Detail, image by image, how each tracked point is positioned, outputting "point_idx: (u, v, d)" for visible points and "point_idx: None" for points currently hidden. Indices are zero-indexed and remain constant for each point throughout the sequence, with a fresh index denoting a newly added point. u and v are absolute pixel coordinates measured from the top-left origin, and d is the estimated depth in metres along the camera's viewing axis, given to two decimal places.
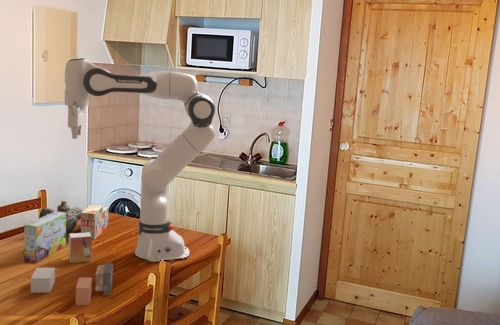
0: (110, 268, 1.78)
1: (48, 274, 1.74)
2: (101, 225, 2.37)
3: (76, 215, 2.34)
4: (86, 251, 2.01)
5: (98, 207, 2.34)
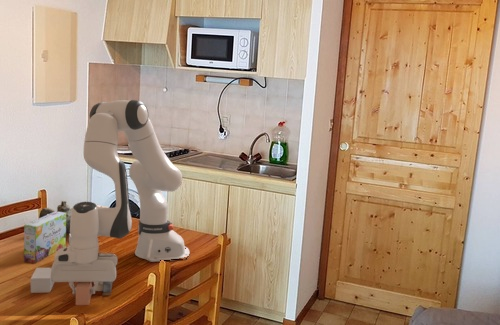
0: None
1: (48, 274, 1.74)
2: None
3: None
4: None
5: None
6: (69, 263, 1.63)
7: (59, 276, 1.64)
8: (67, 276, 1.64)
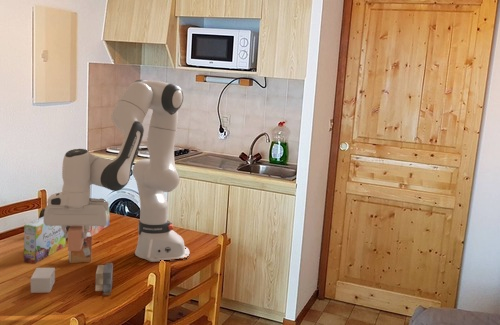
0: (110, 268, 1.78)
1: (48, 274, 1.74)
2: None
3: None
4: (86, 251, 2.01)
5: None
6: (61, 207, 1.69)
7: (52, 220, 1.70)
8: (59, 220, 1.70)
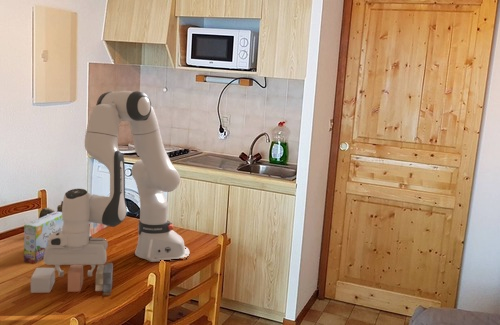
0: (110, 268, 1.78)
1: (48, 274, 1.74)
2: (98, 224, 2.37)
3: None
4: None
5: None
6: (61, 247, 1.71)
7: (52, 259, 1.73)
8: (59, 259, 1.73)
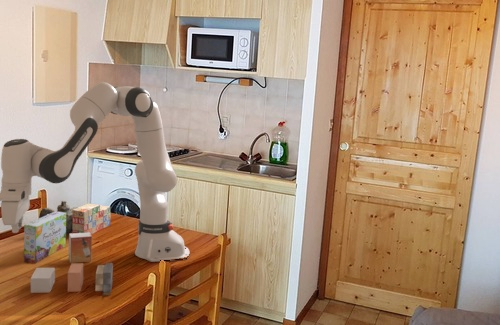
0: (110, 268, 1.78)
1: (48, 274, 1.74)
2: (97, 224, 2.38)
3: None
4: (86, 251, 2.01)
5: (94, 206, 2.36)
6: (22, 199, 1.65)
7: (17, 217, 1.62)
8: (19, 215, 1.65)
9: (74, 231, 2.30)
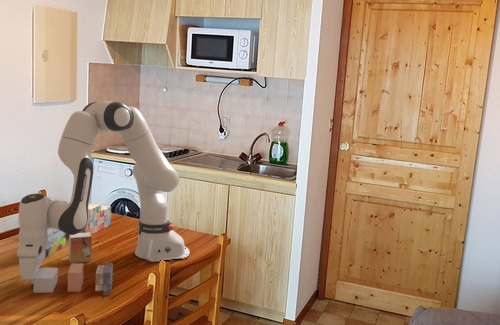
0: (110, 268, 1.78)
1: (51, 274, 1.74)
2: (98, 224, 2.38)
3: None
4: (86, 251, 2.01)
5: (95, 206, 2.36)
6: (39, 254, 1.69)
7: (34, 271, 1.67)
8: (36, 268, 1.69)
9: None
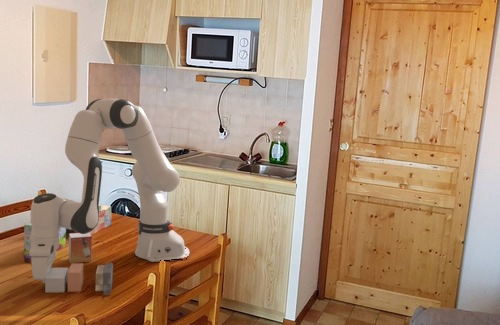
0: (110, 268, 1.78)
1: (63, 274, 1.75)
2: (98, 224, 2.38)
3: None
4: (86, 251, 2.01)
5: None
6: (51, 253, 1.70)
7: (46, 271, 1.67)
8: (47, 268, 1.70)
9: None
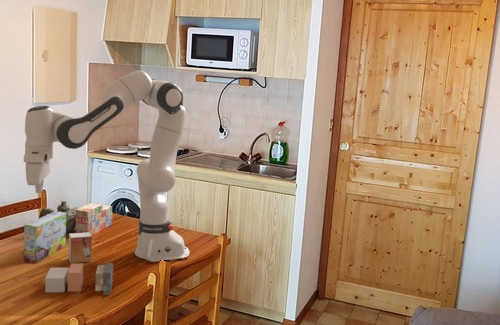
0: (110, 268, 1.78)
1: (63, 274, 1.75)
2: (100, 223, 2.39)
3: None
4: (86, 251, 2.01)
5: (96, 205, 2.36)
6: (45, 162, 1.75)
7: (40, 178, 1.73)
8: (41, 176, 1.75)
9: (77, 231, 2.30)
